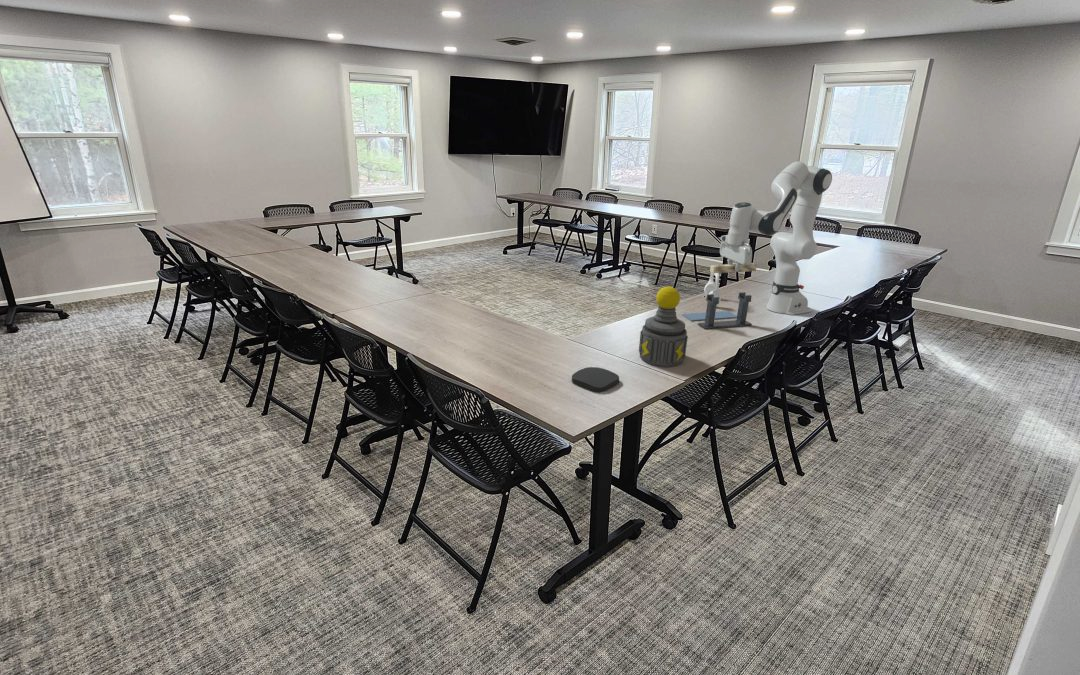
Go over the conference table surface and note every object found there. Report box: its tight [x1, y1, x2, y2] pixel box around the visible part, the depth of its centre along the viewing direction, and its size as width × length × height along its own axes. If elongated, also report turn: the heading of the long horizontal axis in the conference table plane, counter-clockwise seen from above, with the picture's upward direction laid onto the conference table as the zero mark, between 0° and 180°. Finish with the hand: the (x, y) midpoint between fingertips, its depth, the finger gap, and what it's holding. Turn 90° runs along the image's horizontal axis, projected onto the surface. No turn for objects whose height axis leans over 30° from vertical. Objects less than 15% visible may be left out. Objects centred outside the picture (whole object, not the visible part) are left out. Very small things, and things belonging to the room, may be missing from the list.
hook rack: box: [697, 291, 753, 330], centre depth 265 cm, size 25×6×15 cm, turn 105°
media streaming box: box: [571, 366, 620, 393], centre depth 206 cm, size 15×15×3 cm
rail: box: [709, 262, 758, 274], centre depth 257 cm, size 22×3×3 cm, turn 105°
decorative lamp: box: [638, 286, 689, 368], centre depth 223 cm, size 19×19×30 cm
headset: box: [701, 272, 722, 303], centre depth 298 cm, size 20×7×18 cm, turn 172°
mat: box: [681, 310, 737, 322], centre depth 279 cm, size 26×9×1 cm, turn 105°
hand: (733, 270), depth 258 cm, fingers closed on rail, 3 cm apart
